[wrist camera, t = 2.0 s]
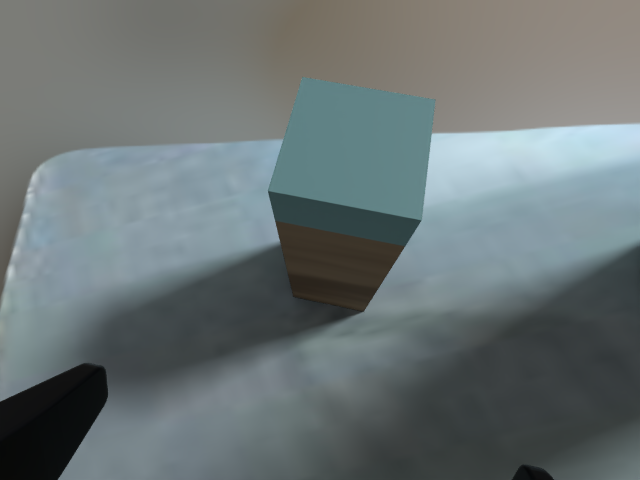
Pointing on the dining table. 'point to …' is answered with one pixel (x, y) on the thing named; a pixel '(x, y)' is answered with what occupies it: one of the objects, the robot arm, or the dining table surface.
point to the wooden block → (349, 188)
